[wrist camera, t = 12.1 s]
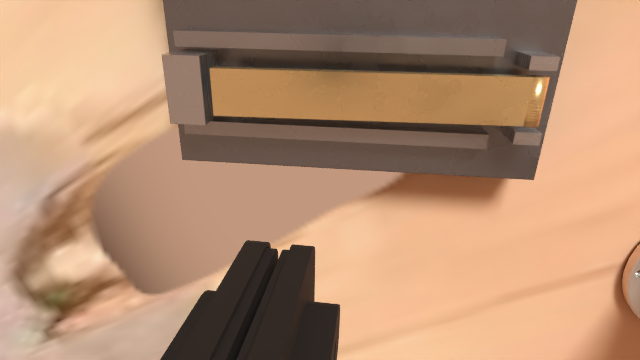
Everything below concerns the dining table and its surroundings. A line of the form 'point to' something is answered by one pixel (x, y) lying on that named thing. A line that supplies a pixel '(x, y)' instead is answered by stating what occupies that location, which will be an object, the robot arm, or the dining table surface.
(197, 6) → the heatsink block
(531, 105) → the brass strap
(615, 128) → the dining table surface
